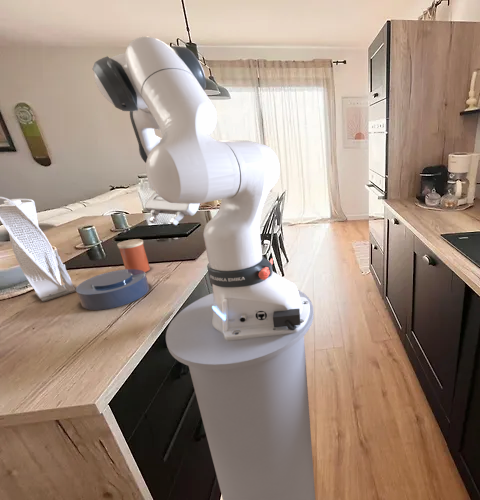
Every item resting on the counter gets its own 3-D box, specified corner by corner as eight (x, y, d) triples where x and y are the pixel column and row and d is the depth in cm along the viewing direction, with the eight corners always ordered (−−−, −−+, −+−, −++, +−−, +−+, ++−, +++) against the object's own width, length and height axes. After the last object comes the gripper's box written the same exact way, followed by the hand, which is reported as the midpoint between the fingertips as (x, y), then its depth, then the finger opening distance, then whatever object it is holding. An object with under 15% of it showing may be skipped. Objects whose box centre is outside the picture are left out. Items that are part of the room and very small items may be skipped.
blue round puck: (160, 282, 87) (156, 266, 85) (124, 310, 73) (118, 291, 71) (111, 282, 87) (106, 266, 85) (65, 310, 73) (58, 291, 71)
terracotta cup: (155, 266, 98) (147, 239, 94) (141, 275, 92) (133, 246, 88) (135, 266, 98) (127, 239, 94) (120, 275, 92) (111, 246, 88)
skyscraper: (35, 304, 76) (-13, 198, 66) (27, 295, 80) (-20, 195, 70) (76, 291, 82) (38, 193, 72) (67, 283, 86) (29, 190, 76)
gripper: (150, 184, 107) (132, 216, 101) (195, 186, 101) (178, 220, 96) (163, 194, 112) (147, 225, 107) (206, 197, 107) (191, 229, 101)
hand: (162, 223), depth 101 cm, fingers open, 8 cm apart
